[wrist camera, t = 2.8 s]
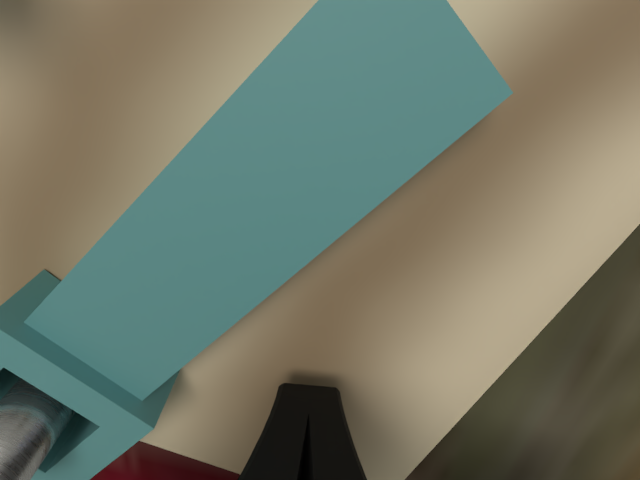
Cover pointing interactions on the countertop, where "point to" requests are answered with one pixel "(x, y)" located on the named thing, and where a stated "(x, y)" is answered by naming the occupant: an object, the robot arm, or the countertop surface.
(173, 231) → the link
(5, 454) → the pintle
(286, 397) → the robot arm
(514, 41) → the base board
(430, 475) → the countertop surface
